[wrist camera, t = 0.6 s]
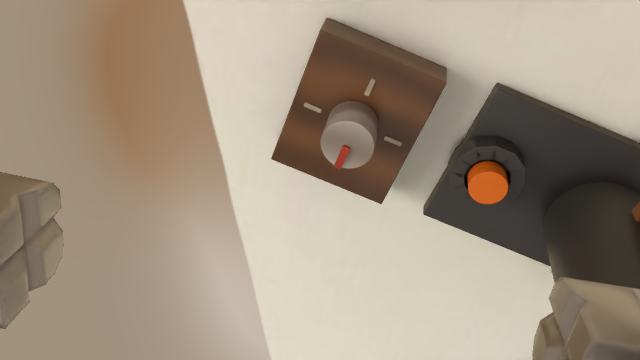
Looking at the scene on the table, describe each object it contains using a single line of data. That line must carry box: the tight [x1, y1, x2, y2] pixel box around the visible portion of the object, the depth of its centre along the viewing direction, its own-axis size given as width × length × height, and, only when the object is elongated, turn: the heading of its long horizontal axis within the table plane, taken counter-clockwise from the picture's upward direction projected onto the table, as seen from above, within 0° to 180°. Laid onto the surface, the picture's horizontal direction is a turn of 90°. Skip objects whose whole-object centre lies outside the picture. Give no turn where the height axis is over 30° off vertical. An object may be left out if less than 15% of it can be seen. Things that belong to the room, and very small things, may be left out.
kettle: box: [543, 182, 640, 289], centre depth 42 cm, size 15×8×15 cm, turn 160°
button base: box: [423, 83, 640, 266], centre depth 49 cm, size 16×13×3 cm
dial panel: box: [271, 18, 446, 204], centre depth 49 cm, size 12×10×3 cm
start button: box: [468, 161, 508, 204], centre depth 48 cm, size 3×3×2 cm
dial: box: [321, 101, 379, 169], centre depth 46 cm, size 4×4×4 cm
